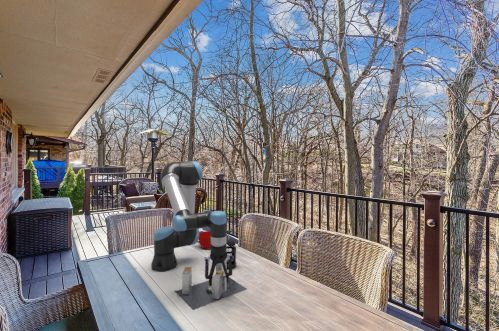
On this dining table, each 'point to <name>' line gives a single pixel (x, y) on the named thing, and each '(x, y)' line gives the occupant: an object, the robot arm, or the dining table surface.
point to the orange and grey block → (186, 280)
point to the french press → (232, 245)
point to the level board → (207, 293)
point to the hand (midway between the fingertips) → (218, 290)
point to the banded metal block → (218, 284)
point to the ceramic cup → (205, 239)
